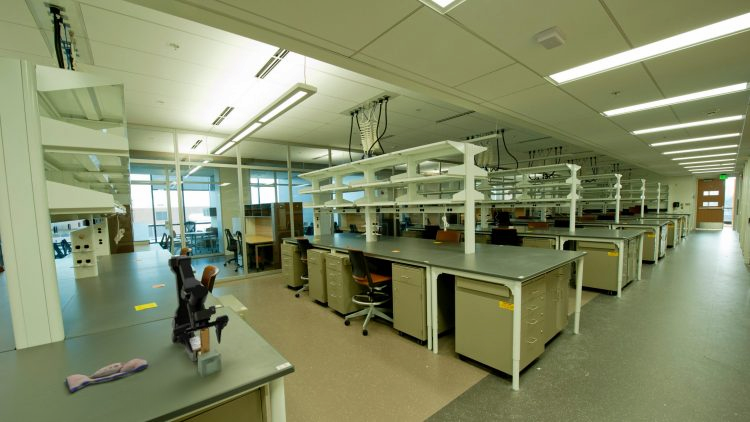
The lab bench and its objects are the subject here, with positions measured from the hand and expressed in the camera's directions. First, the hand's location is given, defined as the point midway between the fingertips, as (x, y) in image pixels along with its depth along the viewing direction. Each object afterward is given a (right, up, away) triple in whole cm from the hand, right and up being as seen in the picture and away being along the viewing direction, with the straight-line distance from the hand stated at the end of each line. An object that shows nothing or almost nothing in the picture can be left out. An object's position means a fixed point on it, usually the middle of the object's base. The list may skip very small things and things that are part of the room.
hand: (206, 347), depth 105 cm
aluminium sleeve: (-11, -8, +11) cm, 17 cm away
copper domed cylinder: (-3, -7, +3) cm, 8 cm away
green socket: (+3, -8, -2) cm, 8 cm away
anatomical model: (-35, -9, -2) cm, 36 cm away
